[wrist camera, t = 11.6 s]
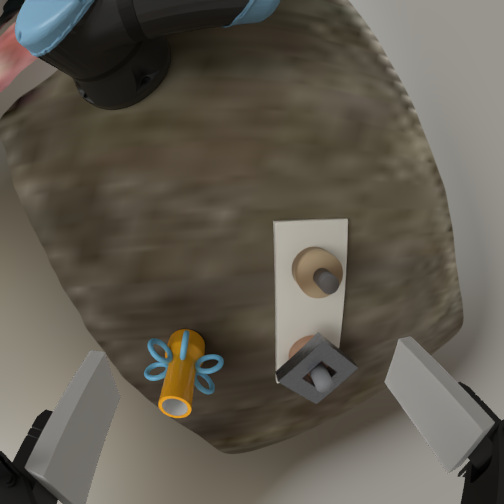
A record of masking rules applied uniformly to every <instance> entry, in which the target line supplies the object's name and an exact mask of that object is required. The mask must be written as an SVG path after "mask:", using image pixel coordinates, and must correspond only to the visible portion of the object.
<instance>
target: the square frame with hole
mask: <svg viewBox="0 0 504 504" xmlns="http://www.w3.org/2000/svg"><path fill="white" fill-rule="evenodd" d="M321 361H322V362H324V363H325V364H327V365H328V366H329V367H328V368H326V369H327V371H328V373H329V375H330V376H331V378H332V380H333V382H334V385H333V387H332V388H331V389H330V390H329V391H327V392H319V391H317V389H316V387H315V384H314V382H313V380H312V378H311V377H310V376H308V375H307V374H308V373H309V372H310V371H311V370H312V369H313V368H314V367H315V366H317V365H318V364H319V363H320V362H321ZM357 368H358V367H357V366H356V364H355V363H354V361H353V360H352V359H351V358H350V357H349V356H347V355H346V354H345V353H344V352H342V351H341V350H340V349H339V348H337V347H336V346H335V345H334V344H332V343H331V342H330V341H329V340H327V339H326V338H325V337H324V336H322V335H321V334H320V333H319V332H318V333H317V334H316V335H315V336H314V337H313V338H312V339H311V340H309V341H308V342H307V343H306V344H305V345H304V346H303V347H302V348H301V349H300V350H299V351H298V352H297V353H296V354H295V355H293V356H292V357H291V358H290V359H289V360H288V361H287V362H286V363H285V364H283V365H282V366H281V367H280V368H279V369H278V370H277V371H276V376H277V380H278V382H279V383H281V384H283V385H284V386H286V387H288V388H289V389H291V390H293V391H294V392H296V393H298V394H300V395H301V396H303V397H305V398H307V399H308V400H310V401H312V402H314V403H315V404H317V403H318V402H319V401H321V400H322V399H323V398H324V397H326V396H327V395H328V394H329V393H330V392H332V391H333V390H334V389H335V388H336V387H337V386H339V385H340V384H341V383H342V382H343V381H344V380H345V379H347V378H348V377H349V376H350V375H351V374H352V373H353V372H354V371H355V370H356V369H357Z"/></svg>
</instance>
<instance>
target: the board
mask: <svg viewBox="0 0 504 504" xmlns="http://www.w3.org/2000/svg"><path fill="white" fill-rule="evenodd" d="M273 229H274V268H275V338H276V371H277V370H278V369H279V368H280V367H281V366H282V365H283V364H285V363H286V362H287V361H288V360H289V351H290V349H291V347H292V345H293V344H294V343H295V342H296V341H298V340H299V339H301V338H303V337H305V336H309V335H316V334H317V333H318V332H319V333H320V334H321V335H322V336H324V337H325V338H326V339H327V340H329V341H330V342H331V343H332V344H334V345H335V346H336V347H337V348H339V345H340V336H341V327H342V318H343V307H344V295H345V281H346V264H347V237H348V219H346V218H331V219H304V220H281V221H273ZM308 247H320V248H323V249H324V250H326V251H327V252H329V253H330V254H332V255H333V256H335V257H336V258H337V259H338V260H339V261H340V263H341V265H342V268H343V278H342V281H341V284H340V286H339V288H338V290H337V291H336V292H335V293H333V294H331V295H329V296H327V297H324V298H312V297H309V296H307V295H306V294H305V293H304V292H303V291H302V290H301V288H300V287H299V285H298V284H297V283H296V281H295V280H294V278H293V275H292V263H293V261H294V258H295V257H296V256H297V254H298V253H299V252H300V251H302V250H303V249H305V248H308ZM276 383H279V382H278V380H277V376H276Z"/></svg>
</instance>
